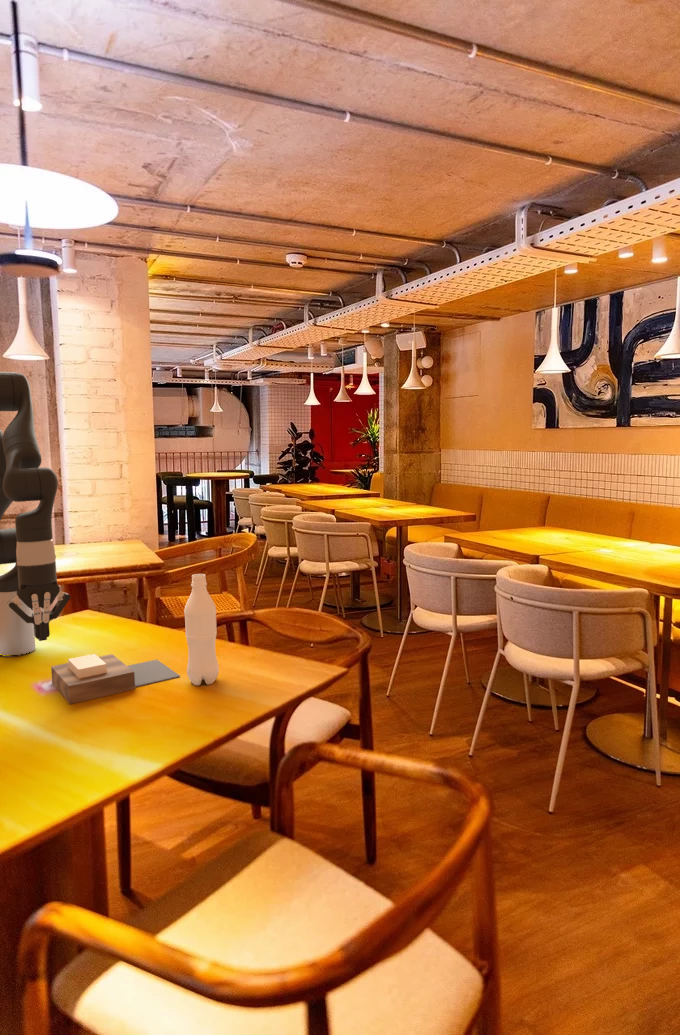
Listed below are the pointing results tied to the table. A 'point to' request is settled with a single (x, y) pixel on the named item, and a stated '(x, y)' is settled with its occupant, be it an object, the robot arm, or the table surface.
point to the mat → (151, 672)
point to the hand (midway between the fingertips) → (42, 639)
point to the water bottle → (201, 633)
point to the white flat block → (87, 665)
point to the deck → (93, 681)
